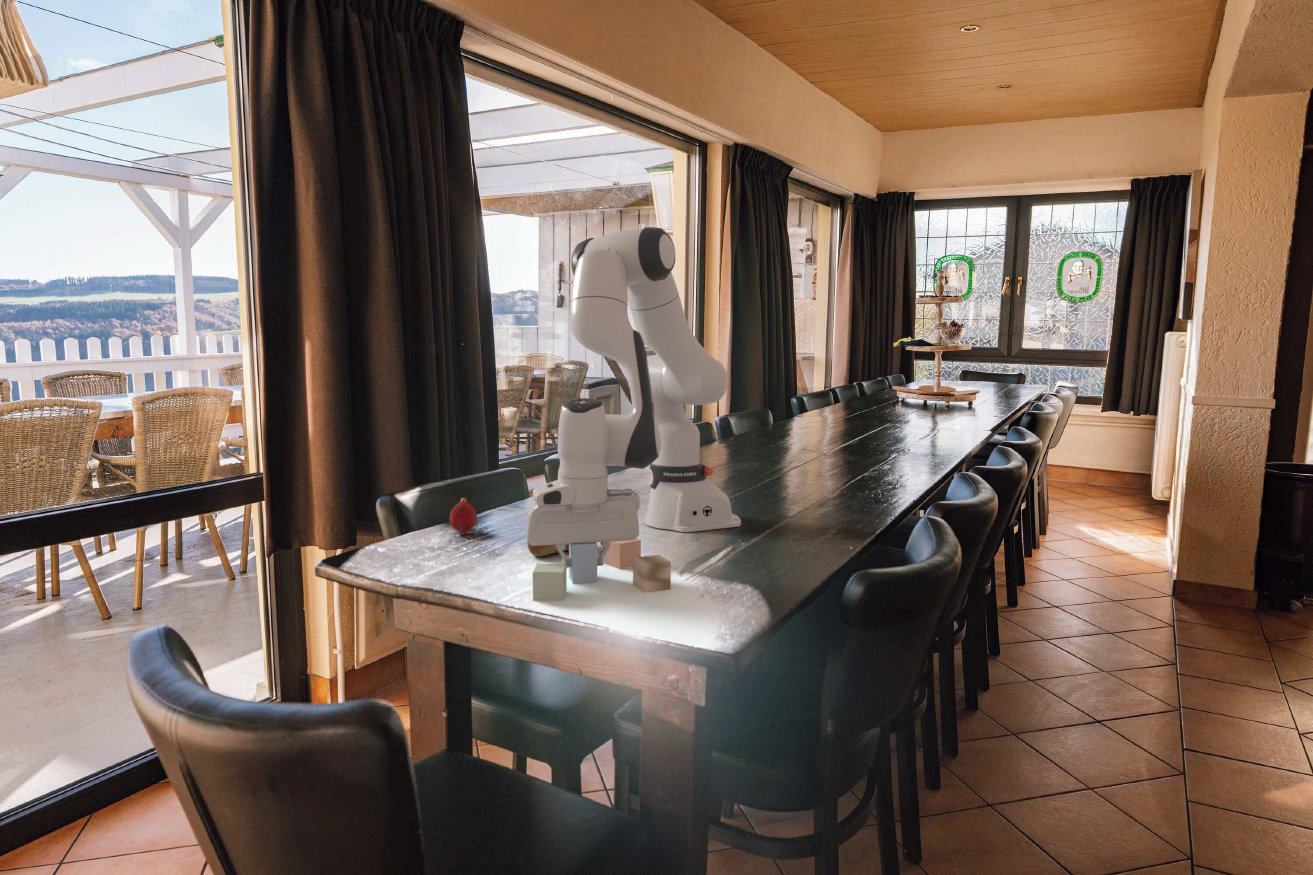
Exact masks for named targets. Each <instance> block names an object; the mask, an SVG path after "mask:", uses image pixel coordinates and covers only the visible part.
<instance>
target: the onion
mask: <svg viewBox="0 0 1313 875" xmlns="http://www.w3.org/2000/svg"><path fill="white" fill-rule="evenodd" d="M475 509H476V508H475V507H474V506H473V505H471V504H470V503H468V502H467V498H465V497H464V498H463V497H462V498H461V499H460V500H459V502H458V503H457V504H456V505H455V506H453V508H452V509H451V511H450V513H449V518H448V520H449V523H450V525H451V527H452V528H453V529H454V530H455V531H456V532H458V533H460V534H461V533H466V534H468V532H469V531H471V530H472V529H473V528H474V526H475V525H476V524H477V518H478V515H477V511H476V510H475Z"/></svg>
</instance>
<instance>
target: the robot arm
mask: <svg viewBox="0 0 1313 875" xmlns="http://www.w3.org/2000/svg"><path fill="white" fill-rule="evenodd" d="M675 264H676V249H675V245H674V241H673V239H672V237H671V236H670V234H669V233H668V232H666V231H665V229H663V228H661V227H657V226H656V227H655V226H652V227H650V226H645V227H643V228H632V229H624V230H618V231H616V232H612V233H609V234H604V235H601V236H598V237H590V238H587V239H584V240H582V241H581V242H579V243H578V244H576V246H575V247H574V249H573V252H572V253H571V259H570V265H571V270H572V274H573V279H572V283H571V284H572V285H571V292H570V300H569V301H570V303H569V326H570V329H571V330H570V331H571V332H572V335H573V337H574V338H575V339H576V341H577V342H579V343H580V345H582V346H583V347H584V348H586V350H589V351H591V352H593V353H595V354H598V355H600V356H603V357H605V358H607V359H610V360H612V361H615V362H617V363H618V364H620V365H621V366H622V367H624V369H625V370H626V372H627V384H628V387H629V390H630V398H631V400H630V401H631V406H632V411H631V412H630V413H629V414H608V413H607V414H606V410H605V406H604V403H603V401H600V400H599V399H598V400H597V399H594V398H587V397H585V398H584V397H583V398H575V399H570V400H567V401H565V402H564V403H562V404H561V409H560V414H559V421H558V428H557V430H556V431H557V434H556V435H557V436H556V445H557V446H556V447H557V448H556V449H557V450H556V451H557V453H558V456H559V467H558V471H557V479H556V480H554V481H550V482H548V483H545V484H542V485H538V486H536V487H535V488H533V490H532V499H533V501H532V503H531V504H530V505H529V507H528V510H527V515H526V523H525V525H526V526H525V538H526V542H527V541H528V543H529V544H530V545H532V546H538V545H556V548H557V550H558V553H559V555H560V557H561V558H562V559H561V560H562V562H561V564H566V569H567V568H568V569H569V568H571V567H572V564H571V563H572V558H571V557H570V556H569V555H566V554H565V551H562V550H565V544H574V543H591V542H596V543H599V545H601V546H600V547H601V549H600V550H599V552H598V553H597V567H600V566H601V567H603V566H604V564H605V563H604V556H605V555H606V553H607V551H608V550H609V548H610V541H626V540H635V539H636V538H637V539H638V536H639V535H640V524H639V515H638V511H639V510H640V506H641V505H640V495H639V494H638V493H637V492H636V491H634V490H632V489H631V488H624V489H617V488H615V489H609V488H608V478H609V476H608V474H609V473H608V469H607V467H608V466H611V467H616V466H617V467H626V468H631V469H632V468H633V469H639V470H644V469H645V468H647V467H649V470H648V483H649V487H650V491H649V497H648V498H649V500H648V504H647V505H648V506H647V509H646V510H647V511H646V515H645V518H644V521H643V523H644V524H645V525H646V526H649V527H651V528H655V529H660V530H661V529H662V530H670V531H675V532H680V533H690V532H691V533H693V532H699V531H711V530H717V529H718V530H719V529H729V528H735V527H736V528H737V527H741V525H742V520H741V518H740V517H739V516H738V515H737V514H734V513H733V511H732V505H731V501H730V498H729V496H728V495H727V494H726V493H725V492H723V491H722V490H721V489H720V488H718V486H716V485H715V484H714V483H712V482H711V481H710V480H709V479H707V477H711V476H713V474H714V472H715V470H714V468H713V467H711V466H709V465H708V466H707V465H704V464H703V463H701V462H700V453H701V452H700V448H701V446H700V445H701V434H700V430H699V427H698V426H697V425H696V424H695V423H694V422H692V420H691V419H689V417H688V416H687V413H686V412H685V410H684V405H692V406H702V405H703V406H704V405H709V404H715V403H717V402H719V401H720V400H721V399H722V397H724V395H725V393H726V391H727V389H728V382H729V381H728V380H729V378H728V374H727V373H728V372H727V370H726V368H725V366H724V364H723V363H722V362H720V361H719V360H718V359H716V358H714V357H713V355H711V354H710V353H709V352H707V350H705V348H704V347H703V346H702V344H700V342H699V341H698V339H697V338H696V337H695V335H694V333H693V331H692V329H691V328H690V326H689V324H688V321H687V318H686V315H685V312H684V308H683V304H682V300H681V297H680V295H679V290H678V287H677V284H676V281H675V278H674V275H673V274H672V271H673V269H674V268H675ZM628 305H629V309H630V311H631V315H632V318H633V319H632V320H633V322H634V326H635V329H634V328H633V327H632V325H631V323H630V319H629V315H628ZM646 347H647V348H648V349H650V350H652V351H653V353H655V354H652V355H651V354H650V355H647V351H646Z"/></svg>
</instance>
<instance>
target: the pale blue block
mask: <svg viewBox="0 0 1313 875" xmlns="http://www.w3.org/2000/svg"><path fill="white" fill-rule="evenodd" d="M597 554H598V542H591V543H574V544H569V550H568V556H570V557H571V558H572V563H571V564H572V567H571V568H568V578H569V579H570V581H571V582H572V585H574V584H589V583H598V566H597Z"/></svg>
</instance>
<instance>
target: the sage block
mask: <svg viewBox="0 0 1313 875" xmlns="http://www.w3.org/2000/svg"><path fill="white" fill-rule="evenodd" d="M567 588H568V587H567V568H566V564H562V563H536V565H535V567H534V569H533V571H532V601H534V602H536V601H537V602H538V601H540V602H564V600H565V596H566V595H567Z"/></svg>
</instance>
